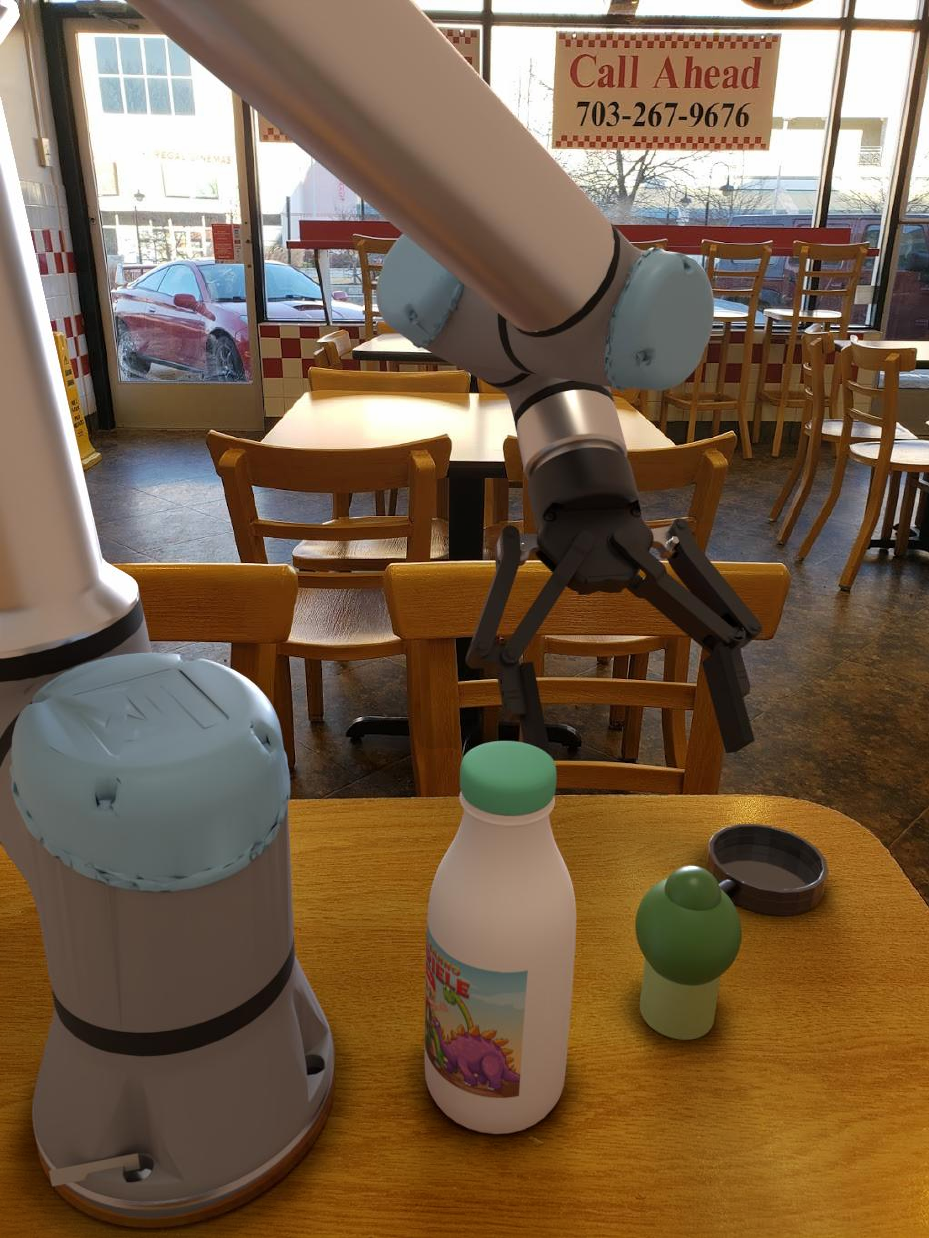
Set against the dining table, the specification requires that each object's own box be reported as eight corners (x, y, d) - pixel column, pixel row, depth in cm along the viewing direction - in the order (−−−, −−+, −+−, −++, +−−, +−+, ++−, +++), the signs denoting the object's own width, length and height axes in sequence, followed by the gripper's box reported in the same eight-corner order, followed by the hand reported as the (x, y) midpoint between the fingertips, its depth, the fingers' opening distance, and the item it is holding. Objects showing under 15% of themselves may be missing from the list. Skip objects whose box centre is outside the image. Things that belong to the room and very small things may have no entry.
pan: (682, 873, 69) (685, 850, 69) (747, 833, 74) (750, 811, 74) (782, 932, 64) (787, 908, 63) (845, 884, 69) (849, 861, 68)
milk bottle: (509, 1006, 57) (525, 709, 50) (593, 1096, 51) (625, 774, 44) (398, 1060, 53) (397, 746, 46) (475, 1165, 47) (488, 823, 40)
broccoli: (605, 1006, 57) (619, 866, 53) (667, 962, 61) (684, 828, 57) (686, 1068, 53) (708, 920, 49) (747, 1017, 56) (772, 876, 53)
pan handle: (655, 934, 62) (657, 919, 61) (725, 887, 67) (727, 873, 66) (670, 944, 61) (672, 929, 61) (739, 896, 66) (742, 882, 65)
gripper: (713, 492, 74) (789, 754, 66) (399, 504, 68) (441, 792, 60) (757, 437, 67) (848, 721, 59) (413, 446, 61) (462, 761, 53)
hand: (643, 758), depth 59 cm, fingers open, 13 cm apart
